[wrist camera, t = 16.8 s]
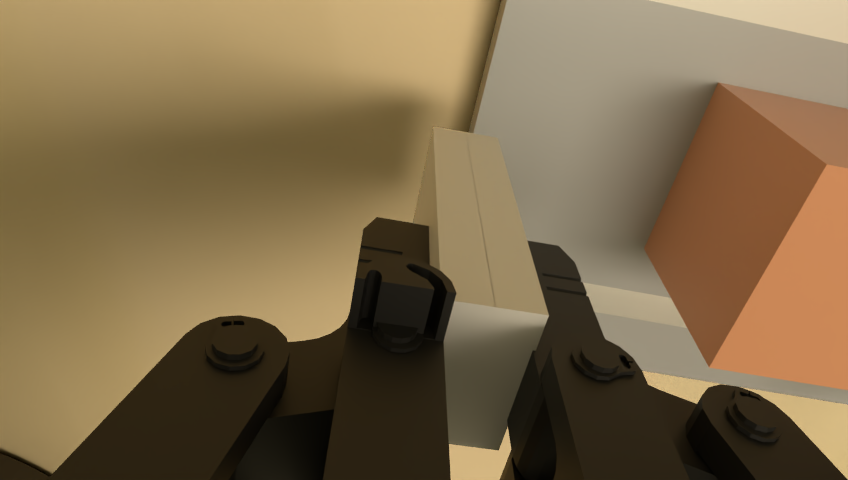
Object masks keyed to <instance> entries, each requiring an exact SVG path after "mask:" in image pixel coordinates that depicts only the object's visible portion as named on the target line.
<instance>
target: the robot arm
mask: <svg viewBox="0 0 848 480" xmlns="http://www.w3.org/2000/svg"><path fill="white" fill-rule="evenodd" d="M586 294H587V292H586V289H585V287H584V284H583V282H581V277H580V274H579V272H578V269H577V266H576V264H575V262H574V261H573V260H572V259H571V258H570V257H569V256H568V255H567V254H566V253H565V252H564V251H563V250H562V249H561V248H560V247H559V246H557V245H551V244H545V243H539V242H533V241H527V238H526V234H525V231H524V227H523V224H522V221H521V217H520V214H519V210H518V207H517V203H516V200H515V196H514V193H513V189H512V186H511V182H510V179H509V175H508V172H507V168H506V165H505V162H504V158H503V155H502V151H501V148H500V144H499V141H498V138H496V137H490V136H485V135H479V134H474V133H469V132H463V131H458V130H452V129H447V128H441V127H436V126H433V130H432V134H431V139H430V144H429V149H428V153H427V158H426V163H425V168H424V172H423V177H422V182H421V187H420V191H419V196H418V201H417V206H416V210H415V215H414V220H413V223H408V222H402V221H396V220H390V219H384V218H378V217H377V218H375V219H374V220H373V221H372V222H371V223H370V224H369V225H368V226H367V227H365V228H364V230H363V236H362V242H361V248H360V254H359V260H358V266H357V272H356V278H355V284H354V290H353V296H352V302H351V309H350V313H349V316H348V318H347V320H346V321H345V323H344V324H343V325H342V326H341V327H340V328H339V329H337V330H336V331H334V332H332V333H331V334H329V335H326V336H323V337H320V338H317V339H312V340H306V341H297V342H287V338H286V337H285V336H284V335H283V334H282V333H281V332H280V331H279V330H278V329H277V327H275V326H273V325H271V324H269V323H267V322H265V321H263V320H261V319H257V318H251V317H246V316H226V317H218V318H215V319H212V320H209V321H206V322H203V323H200V324H199V325H197V326H196V327H195V328H193V329H192V330H190V331H189V332H188V333H186V334H185V335H184V336H183V337H182V338H181V339H180V340H179V341H178V342H177V344H176V345H175V346H174V347H173V348H172V349H171V350H170V351H169V352H168V353H167V354H166V355H165V356H164V357H163V358H162V359H161V360H160V361H159V362H158V363H157V365H156V366H155V367H154V368H153V369H152V370H151V371H150V372H149V373H148V374H147V375H146V376H145V377H144V378H143V379H142V380H141V381H140V382H139V383H138V385H137V386H136V387H135V388H134V389H133V390H132V391H131V392H130V393H129V394H128V395H127V396H126V397H125V398H124V399H123V400H122V401H121V402H120V403H119V405H118V406H117V407H116V408H115V409H114V410H113V411H112V412H111V413H110V414H109V415H108V416H107V417H106V418H105V419H104V420H103V421H102V422H101V423H100V425H99V426H98V427H97V428H96V429H95V430H94V431H93V432H92V433H91V434H90V435H89V436H88V437H87V438H86V439H85V440H84V441H83V442H82V443H81V445H80V446H79V447H78V448H77V449H76V450H75V451H74V452H73V453H72V454H71V455H70V456H69V457H68V458H67V459H66V460H65V461H64V462H63V463H62V465H61V466H60V467H59V468H58V469H57V470H56V471H55V472H54V473H53V474H52V475H51V476H50V477H49V476H47V475H45V474H43V473H41V472H40V471H38V470H36V469H34V468H32V467H30V466H28V465H26V464H24V463H22V462H19V461H17V460H15V459H13V458H10V457H8V456H5V455H3V454H0V480H451V479H450V460H449V444H455V445H462V446H470V447H478V448H485V449H493V450H499V448H500V445H501V443H502V440H503V437H504V435H505V432H506V429H507V427H508V430H509V436H510V443H511V449H512V450H511V452H510V455H509V457H508V460H507V462H506V465H505V468H504V470H503V473H502V475H501V478H500V480H847V479H846V477H845V476H844V475H843V474H842V473H841V472H840V471H839V470H838V469H837V468H836V467H835V466H834V465H833V463H832V462H831V461H830V460H829V459H828V458H827V457H826V456H825V455H824V454H823V453H822V452H821V451H820V450H819V448H818V447H817V446H816V445H815V444H814V443H813V442H812V441H811V440H810V439H809V438H808V437H807V436H806V435H805V433H804V432H803V431H802V430H801V429H800V428H799V427H798V426H797V425H796V424H795V423H794V422H793V421H792V419H791V418H790V417H788V416H787V415H786V414H785V413H784V412H783V411H782V410H780V409H779V408H778V407H777V406H776V405H775V404H773V403H771V402H770V401H768V400H766V399H765V398H763V397H761V396H760V395H759V394H756V393H754V392H752V391H748V390H746V389H743V388H740V387H737V386H729V385H721V384H720V385H717V386H713V387H709V388H708V389H707V390H706V391H705V393H704V394H703V395H702V397H701V398H700V400H699V402H698V403H697V404H695V403H693V402H690V401H687V400H685V399H682V398H679V397H677V396H674V395H671V394H669V393H666V392H663V391H661V390H658V389H656V388H654V387H652V386H649V385H648V384H647V381H646V379H645V377H644V375H643V372H642V370H641V369H640V367H639V366H638V364H637V363H636V361H635V360H634V358H633V357H632V356H630V355H629V354H628V353H627V352H626V351H624V350H623V349H622V348H621V347H620V346H618V345H616V344H614V343H612V342H610V341H608V340H606V339H605V337H604V335H603V332H602V330H601V327H600V325H599V322H598V320H597V317H596V315H595V312H594V310H593V307H592V304H591V302H590V299H589V297H588V296H586Z"/></svg>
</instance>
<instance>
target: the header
mask: <svg viewBox="0 0 848 480" xmlns="http://www.w3.org/2000/svg"><path fill="white" fill-rule="evenodd" d="M718 82H719V83H724V84H729V85H734V86H739V87H744V88H748V89H753V90H758V91H763V92H768V93H773V94H778V95H783V96H788V97H793V98H797V99H802V100H807V101H812V102H817V103H822V104H827V105H832V106H837V107H842V108H846V109H848V0H501V3H500V7H499V11H498V15H497V19H496V23H495V27H494V31H493V35H492V39H491V43H490V47H489V51H488V55H487V60H486V64H485V68H484V72H483V76H482V80H481V84H480V88H479V92H478V96H477V100H476V104H475V108H474V112H473V116H472V120H471V124H470V128H469V133H474V134H479V135H485V136H490V137H496V138H498V141H499V144H500V148H501V151H502V155H503V158H504V162H505V165H506V168H507V172H508V175H509V179H510V182H511V186H512V189H513V193H514V196H515V200H516V203H517V207H518V210H519V214H520V217H521V221H522V224H523V227H524V231H525V234H526V238H527V241H533V242H539V243H545V244H551V245H557V246H559V247H560V248H561V249H562V250H563V251H564V252H565V253H566V254H567V255H568V256H569V257H570V258H571V259H572V260H573V261H574V262H575V264H576V266H577V269H578V272H579V274H580V277H581V282H583V284H584V287H585V289H586V292H587V294H586V296H588V297H589V299H590V302H591V304H592V307H593V310H594V312H595V315H596V317H597V320H598V322H599V325H600V327H601V330H602V332H603V335H604V337H605V339H606V340H608V341H610V342H612V343H614V344H616V345H618V346H620V347H621V348H622V349H623V350H624V351H626V352H627V353H628V354H629V355H630V356H632V357H633V358H634V360H635V361H636V363H637V364H638V366H639V367H640V369H641V370H642V371H647V372H653V373H659V374H665V375H671V376H677V377H683V378H689V379H696V380H702V381H708V382H714V383H720V384H726V385H732V386H738V387H744V388H750V389H756V390H762V391H768V392H774V393H781V394H787V395H793V396H799V397H805V398H811V399H817V400H823V401H829V402H835V403H841V404H847V405H848V390H843V389H837V388H831V387H825V386H819V385H813V384H806V383H800V382H794V381H788V380H782V379H776V378H770V377H764V376H757V375H751V374H745V373H739V372H733V371H727V370H721V369H714V368H709V367H708V365H707V363H706V361H705V359H704V358H703V356H702V354H701V352H700V350H699V348H698V347H697V345H696V343H695V341H694V339H693V337H692V336H691V334H690V332H689V330H688V328H687V326H686V325H685V323H684V321H683V319H682V317H681V315H680V314H679V312H678V310H677V308H676V306H675V305H674V303H673V301H672V299H671V297H670V295H669V294H668V292H667V290H666V288H665V286H664V284H663V283H662V281H661V279H660V277H659V275H658V273H657V272H656V270H655V268H654V266H653V264H652V262H651V261H650V259H649V257H648V255H647V253H646V252H645V250H644V247H645V245H646V243H647V241H648V238H649V236H650V234H651V232H652V229H653V227H654V225H655V223H656V221H657V218H658V216H659V214H660V212H661V209H662V207H663V205H664V203H665V200H666V198H667V196H668V194H669V191H670V189H671V187H672V185H673V182H674V180H675V178H676V176H677V173H678V171H679V169H680V167H681V165H682V162H683V160H684V158H685V156H686V153H687V151H688V149H689V147H690V144H691V142H692V140H693V138H694V135H695V133H696V131H697V129H698V126H699V124H700V122H701V120H702V117H703V115H704V113H705V111H706V109H707V106H708V104H709V102H710V100H711V97H712V95H713V93H714V91H715V88H716V86H717V84H718Z"/></svg>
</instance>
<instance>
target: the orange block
mask: <svg viewBox="0 0 848 480" xmlns="http://www.w3.org/2000/svg"><path fill="white" fill-rule="evenodd" d="M644 250H645V252H646V253H647V255H648V257H649V259H650V261H651V262H652V264H653V266H654V268H655V270H656V272H657V273H658V275H659V277H660V279H661V281H662V283H663V284H664V286H665V288H666V290H667V292H668V294H669V295H670V297H671V299H672V301H673V303H674V305H675V306H676V308H677V310H678V312H679V314H680V315H681V317H682V319H683V321H684V323H685V325H686V326H687V328H688V330H689V332H690V334H691V336H692V337H693V339H694V341H695V343H696V345H697V347H698V348H699V350H700V352H701V354H702V356H703V358H704V359H705V361H706V363H707V365H708V367H709V368H714V369H721V370H727V371H733V372H739V373H745V374H751V375H757V376H764V377H770V378H776V379H782V380H788V381H794V382H800V383H806V384H813V385H819V386H825V387H831V388H837V389H843V390H848V109H846V108H842V107H837V106H832V105H827V104H822V103H817V102H812V101H807V100H802V99H797V98H793V97H788V96H783V95H778V94H773V93H768V92H763V91H758V90H753V89H748V88H744V87H739V86H734V85H729V84H724V83H719V82H718V84H717V86H716V88H715V91H714V93H713V95H712V97H711V100H710V102H709V104H708V106H707V109H706V111H705V113H704V115H703V117H702V120H701V122H700V124H699V126H698V129H697V131H696V133H695V135H694V138H693V140H692V142H691V144H690V147H689V149H688V151H687V153H686V156H685V158H684V160H683V162H682V165H681V167H680V169H679V171H678V173H677V176H676V178H675V180H674V182H673V185H672V187H671V189H670V191H669V194H668V196H667V198H666V200H665V203H664V205H663V207H662V209H661V212H660V214H659V216H658V218H657V221H656V223H655V225H654V227H653V229H652V232H651V234H650V236H649V238H648V241H647V243H646V245H645V247H644Z"/></svg>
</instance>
